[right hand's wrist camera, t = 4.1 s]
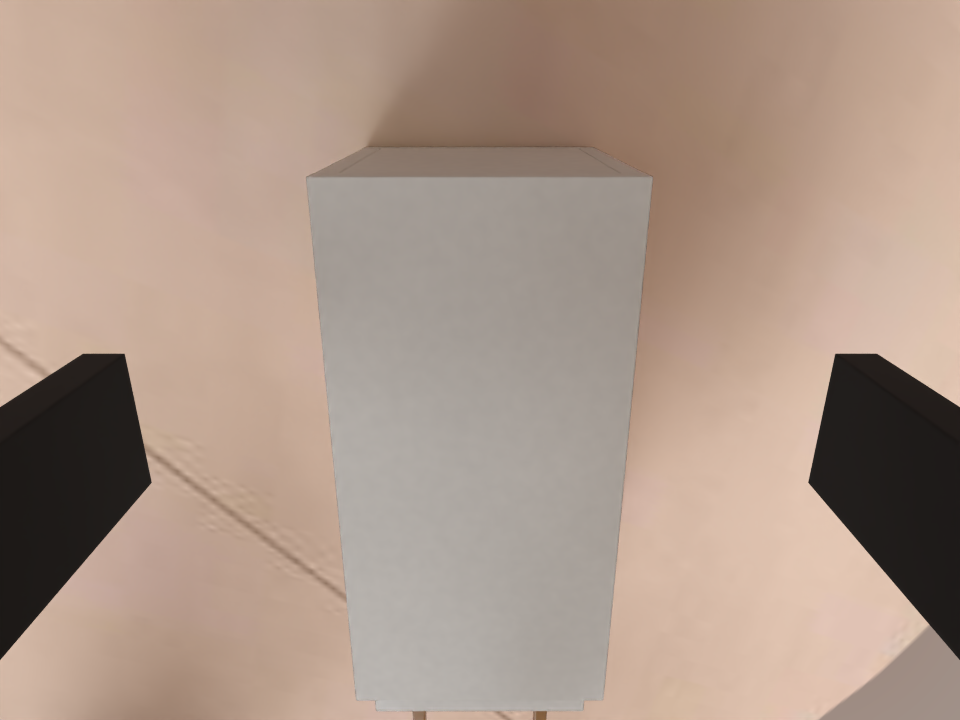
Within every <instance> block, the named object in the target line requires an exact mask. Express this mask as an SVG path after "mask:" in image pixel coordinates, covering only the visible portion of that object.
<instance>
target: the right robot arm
mask: <svg viewBox="0 0 960 720" xmlns="http://www.w3.org/2000/svg"><path fill="white" fill-rule="evenodd" d="M151 483H152V482H151V477H150V473H149V468H148V463H147V458H146V454H145V449H144V444H143V439H142V434H141V430H140V425H139V420H138V415H137V411H136V406H135V401H134V396H133V392H132V387H131V382H130V377H129V372H128V368H127V363H126V358H125V354H82V355H80V356H79V357H77V358H76V359H74V360H73V361H71V362H70V363H68V364H67V365H65V366H63V367H62V368H60V369H59V370H57V371H56V372H54V373H53V374H51V375H49V376H48V377H46V378H45V379H43V380H42V381H40V382H39V383H37V384H35V385H34V386H32V387H31V388H29V389H28V390H26V391H25V392H23V393H21V394H20V395H18V396H17V397H15V398H14V399H12V400H11V401H9V402H8V403H6V404H4V405H3V406H1V407H0V660H1V658H2V657H3V656H4V655H5V654H6V653H7V651H8V650H9V649H10V648H11V647H12V645H13V644H14V643H15V642H16V641H17V640H18V638H19V637H20V636H21V635H22V634H23V633H24V631H25V630H26V629H27V628H28V627H29V626H30V624H31V623H32V622H33V621H34V620H35V619H36V617H37V616H38V615H39V614H40V613H41V612H42V610H43V609H44V608H45V607H46V606H47V605H48V603H49V602H50V601H51V600H52V599H53V598H54V596H55V595H56V594H57V593H58V592H59V590H60V589H61V588H62V587H63V586H64V585H65V583H66V582H67V581H68V580H69V579H70V578H71V576H72V575H73V574H74V573H75V572H76V571H77V569H78V568H79V567H80V566H81V565H82V564H83V562H84V561H85V560H86V559H87V558H88V557H89V555H90V554H91V553H92V552H93V551H94V550H95V548H96V547H97V546H98V545H99V544H100V542H101V541H102V540H103V539H104V538H105V537H106V535H107V534H108V533H109V532H110V531H111V530H112V528H113V527H114V526H115V525H116V524H117V523H118V521H119V520H120V519H121V518H122V517H123V516H124V514H125V513H126V512H127V511H128V510H129V509H130V507H131V506H132V505H133V504H134V503H135V502H136V500H137V499H138V498H139V497H140V496H141V494H142V493H143V492H144V491H145V490H146V489H147V487H148V486H149V485H150V484H151ZM808 483H809V484H810V485H811V486H812V487H813V489H814V490H815V491H816V492H817V493H818V494H819V496H820V497H821V498H822V499H823V500H824V502H825V503H826V504H827V505H828V506H829V507H830V509H831V510H832V511H833V512H834V513H835V514H836V516H837V517H838V518H839V519H840V520H841V521H842V523H843V524H844V525H845V526H846V527H847V528H848V530H849V531H850V532H851V533H852V534H853V535H854V537H855V538H856V539H857V540H858V541H859V542H860V544H861V545H862V546H863V547H864V548H865V550H866V551H867V552H868V553H869V554H870V555H871V557H872V558H873V559H874V560H875V561H876V562H877V564H878V565H879V566H880V567H881V568H882V569H883V571H884V572H885V573H886V574H887V575H888V576H889V578H890V579H891V580H892V581H893V582H894V583H895V585H896V586H897V587H898V588H899V589H900V590H901V592H902V593H903V594H904V595H905V596H906V598H907V599H908V600H909V601H910V602H911V603H912V605H913V606H914V607H915V608H916V609H917V610H918V612H919V613H920V614H921V615H922V616H923V617H924V619H925V620H926V621H927V622H928V623H929V624H930V626H931V627H932V628H933V629H934V630H935V631H936V633H937V634H938V635H939V636H940V637H941V638H942V640H943V641H944V642H945V643H946V644H947V645H948V647H949V648H950V649H951V650H952V651H953V653H954V654H955V655H956V656H957V657H958V658H959V660H960V407H959V406H957V405H956V404H954V403H952V402H951V401H949V400H948V399H946V398H945V397H943V396H942V395H940V394H939V393H937V392H935V391H934V390H932V389H931V388H929V387H928V386H926V385H925V384H923V383H921V382H920V381H918V380H917V379H915V378H914V377H912V376H911V375H909V374H907V373H906V372H904V371H903V370H901V369H900V368H898V367H897V366H895V365H893V364H892V363H890V362H889V361H887V360H886V359H884V358H883V357H881V356H880V355H878V354H835V358H834V363H833V368H832V372H831V377H830V382H829V387H828V392H827V396H826V401H825V406H824V411H823V415H822V420H821V425H820V430H819V434H818V439H817V444H816V449H815V454H814V458H813V463H812V468H811V473H810V477H809V482H808Z"/></svg>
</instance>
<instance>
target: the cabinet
mask: <svg viewBox="0 0 960 720" xmlns="http://www.w3.org/2000/svg"><path fill="white" fill-rule="evenodd" d="M306 182H307V192H308V203H309V213H310V223H311V234H312V244H313V255H314V265H315V276H316V286H317V297H318V307H319V317H320V328H321V338H322V349H323V359H324V370H325V380H326V391H327V401H328V411H329V422H330V432H331V443H332V453H333V464H334V474H335V485H336V495H337V506H338V516H339V526H340V537H341V547H342V558H343V568H344V579H345V589H346V600H347V610H348V620H349V631H350V641H351V652H352V662H353V673H354V683H355V694H356V700H357V701H384V700H603V698H604V687H605V677H606V666H607V656H608V645H609V635H610V624H611V614H612V603H613V593H614V582H615V572H616V562H617V551H618V541H619V530H620V520H621V509H622V499H623V488H624V478H625V467H626V457H627V446H628V436H629V425H630V415H631V404H632V394H633V383H634V373H635V362H636V352H637V341H638V331H639V320H640V310H641V299H642V289H643V278H644V268H645V257H646V247H647V236H648V226H649V215H650V205H651V194H652V184H653V177H652V176H650V175H648V174H646V173H643V172H641V171H639V170H637V169H635V168H633V167H632V166H630V165H628V164H626V163H624V162H622V161H620V160H618V159H616V158H614V157H612V156H610V155H608V154H606V153H604V152H602V151H600V150H598V149H596V148H594V147H365V148H363V149H361V150H359V151H357V152H355V153H353V154H351V155H349V156H347V157H345V158H343V159H341V160H339V161H338V162H336V163H334V164H332V165H330V166H328V167H326V168H324V169H322V170H320V171H318V172H316V173H313V174H311V175H309V176H307V177H306Z"/></svg>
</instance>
